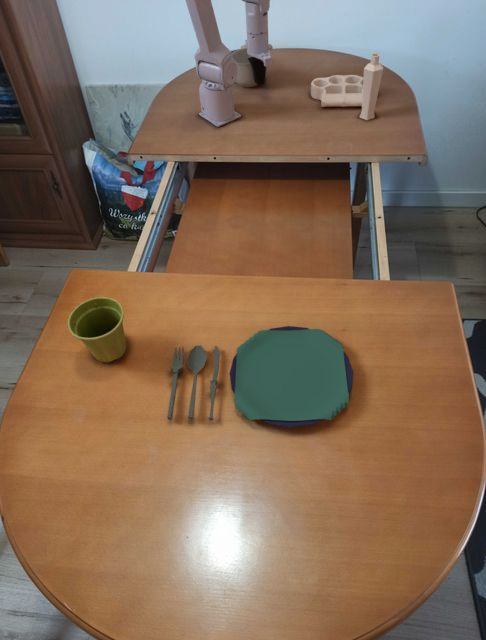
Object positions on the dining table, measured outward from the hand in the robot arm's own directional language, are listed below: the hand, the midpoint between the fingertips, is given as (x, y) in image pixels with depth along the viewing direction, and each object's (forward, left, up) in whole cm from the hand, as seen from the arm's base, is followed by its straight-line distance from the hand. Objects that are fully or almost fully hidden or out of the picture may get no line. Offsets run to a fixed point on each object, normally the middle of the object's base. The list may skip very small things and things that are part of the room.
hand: (259, 83), depth 143 cm
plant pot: (+59, -79, -2) cm, 98 cm away
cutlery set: (+81, -62, -2) cm, 102 cm away
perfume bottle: (+32, +11, -2) cm, 34 cm away
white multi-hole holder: (+20, +14, -2) cm, 24 cm away
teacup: (-8, +2, -2) cm, 8 cm away
